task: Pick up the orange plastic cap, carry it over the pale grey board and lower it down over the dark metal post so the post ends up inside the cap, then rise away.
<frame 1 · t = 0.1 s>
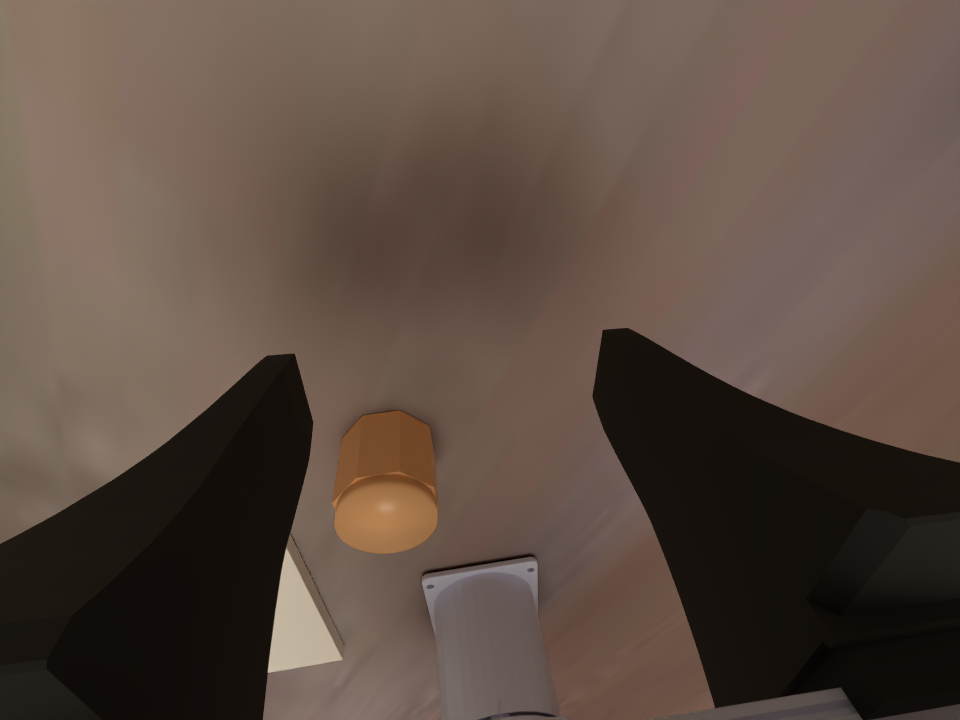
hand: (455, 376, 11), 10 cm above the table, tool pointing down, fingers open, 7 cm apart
cap: (389, 445, 26), on the table
post board: (215, 613, 32), on the table
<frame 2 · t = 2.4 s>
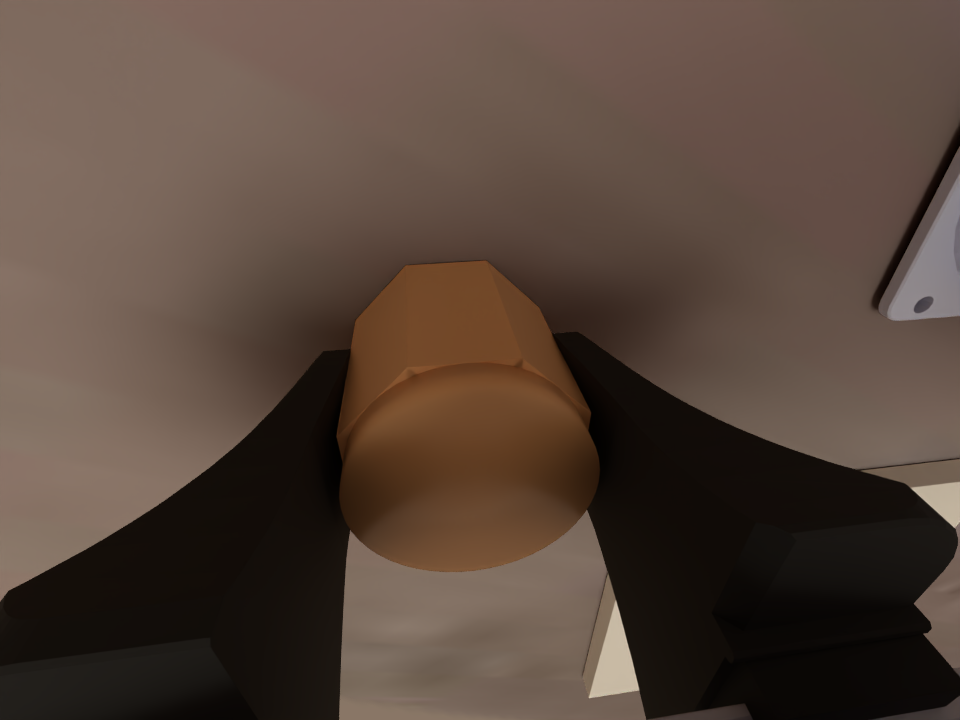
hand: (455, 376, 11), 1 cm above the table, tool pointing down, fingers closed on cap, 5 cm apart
cap: (450, 345, 13), on the table, touching gripper
post board: (748, 583, 22), on the table
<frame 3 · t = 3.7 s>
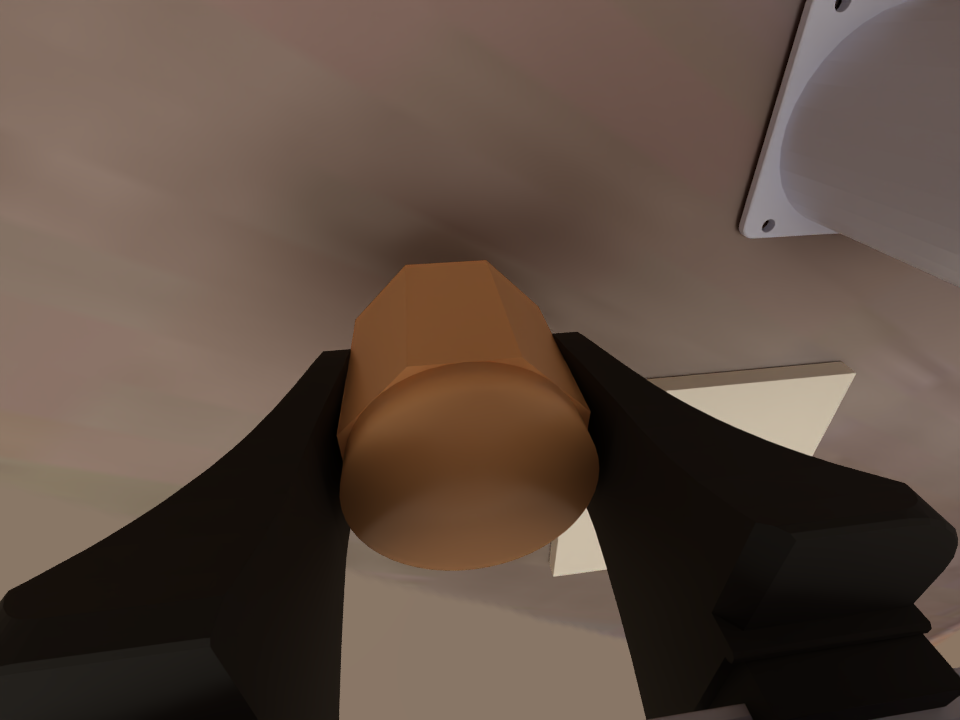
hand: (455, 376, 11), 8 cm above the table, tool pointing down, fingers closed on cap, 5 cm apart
cap: (450, 344, 13), point 7 cm above the table, touching gripper
post board: (678, 473, 27), on the table
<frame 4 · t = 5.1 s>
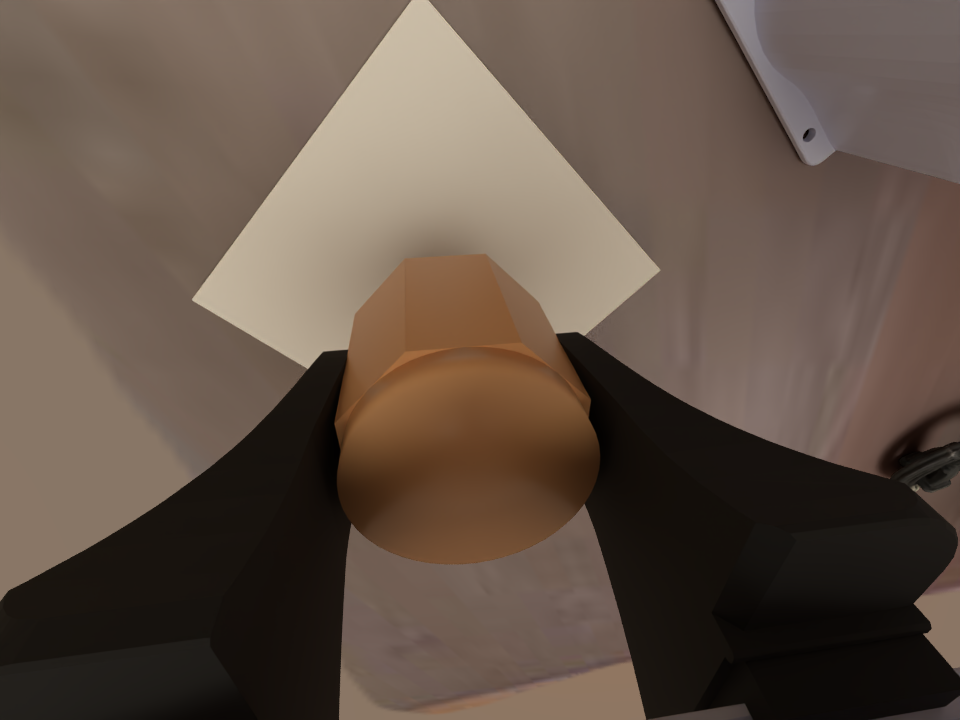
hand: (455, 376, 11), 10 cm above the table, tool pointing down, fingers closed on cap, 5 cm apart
cap: (449, 340, 13), point 9 cm above the table, touching gripper
post board: (436, 274, 21), on the table
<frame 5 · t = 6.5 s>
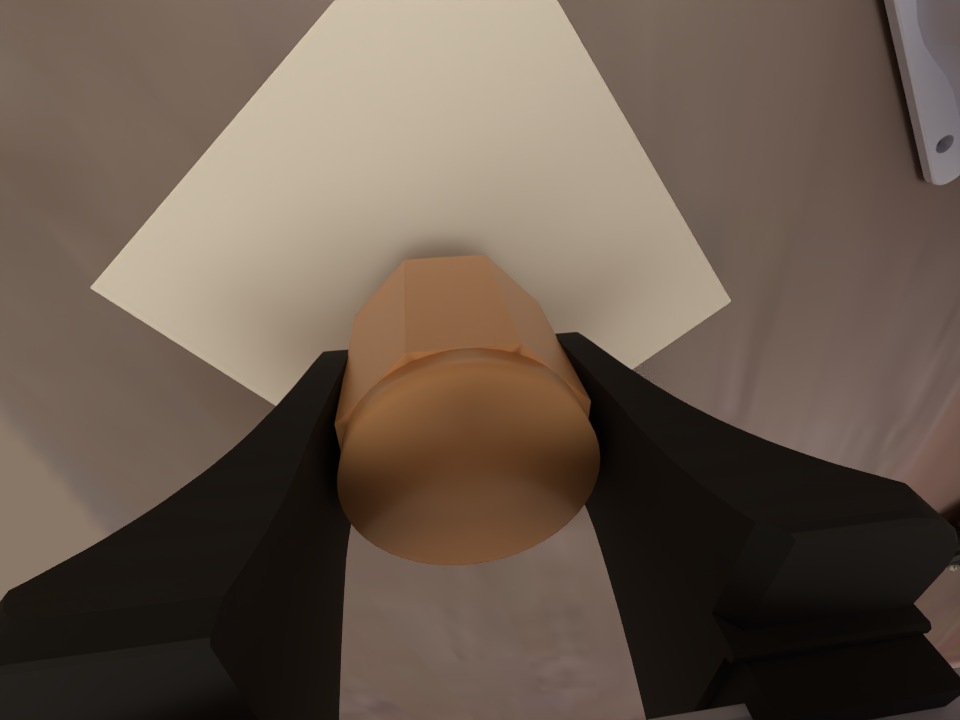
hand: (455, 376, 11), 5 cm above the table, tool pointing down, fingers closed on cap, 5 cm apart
cap: (450, 340, 13), point 4 cm above the table, touching gripper
post board: (441, 281, 16), on the table
when the fingers open (3 cm above the table, at t = 7.9 s): cap stays where it is, resting on post board.
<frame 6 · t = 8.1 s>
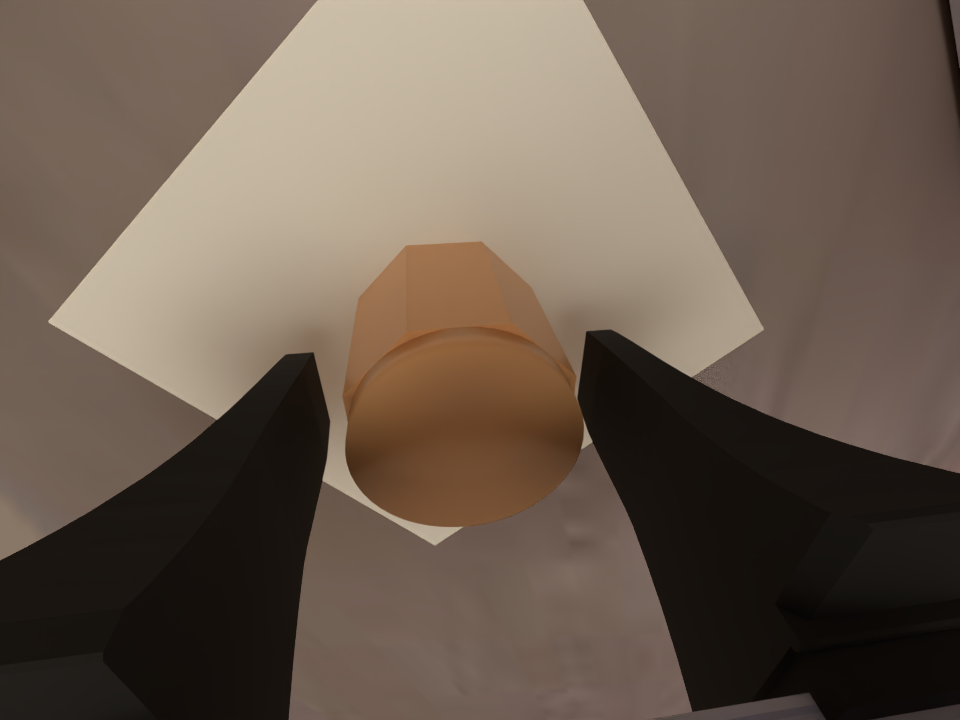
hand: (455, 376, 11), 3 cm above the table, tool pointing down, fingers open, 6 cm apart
cap: (448, 323, 13), point 1 cm above the table, touching post board
post board: (445, 309, 14), on the table
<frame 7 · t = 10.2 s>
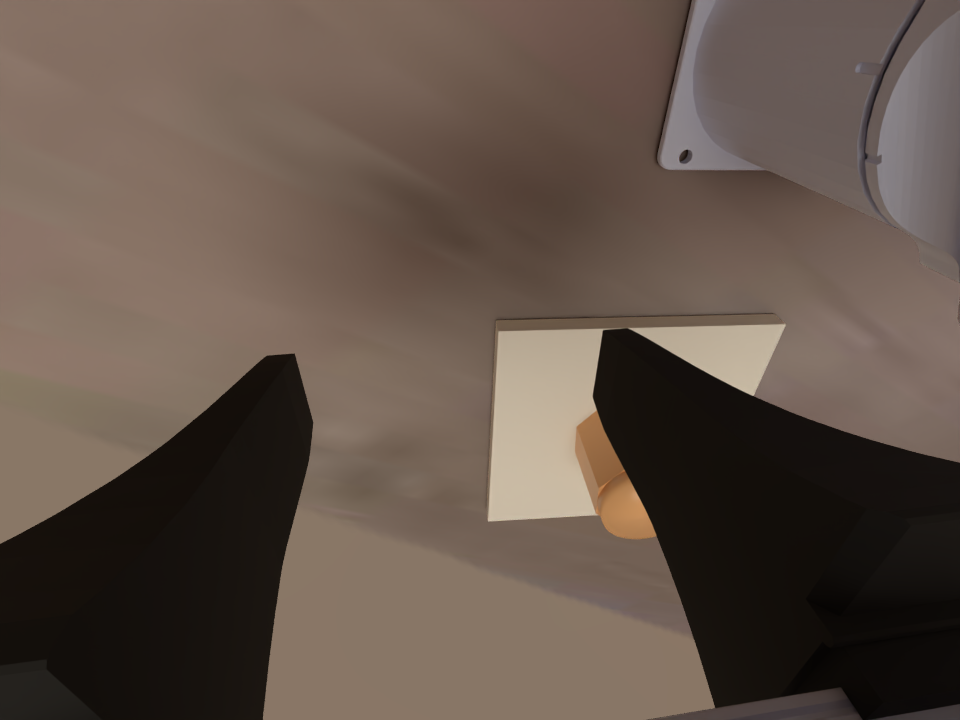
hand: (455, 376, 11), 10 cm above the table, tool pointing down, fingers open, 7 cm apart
cap: (616, 434, 27), point 1 cm above the table, touching post board
post board: (612, 423, 27), on the table
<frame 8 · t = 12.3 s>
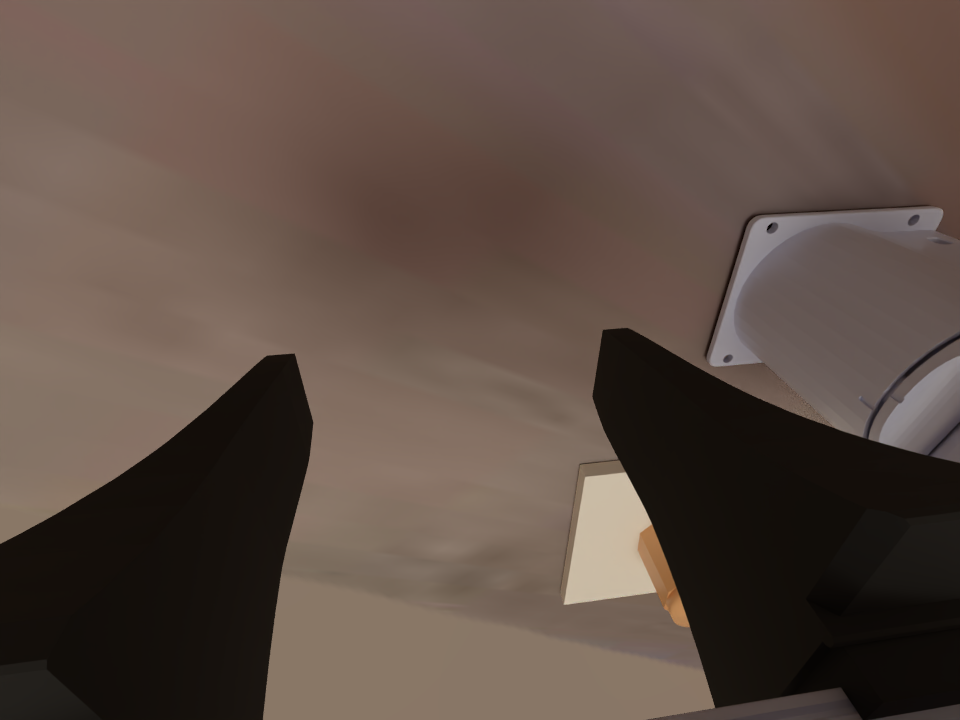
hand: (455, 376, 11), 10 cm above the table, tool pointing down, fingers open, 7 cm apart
cap: (671, 535, 33), point 1 cm above the table, touching post board
post board: (665, 524, 34), on the table
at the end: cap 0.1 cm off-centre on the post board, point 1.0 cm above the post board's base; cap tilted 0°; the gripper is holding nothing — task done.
